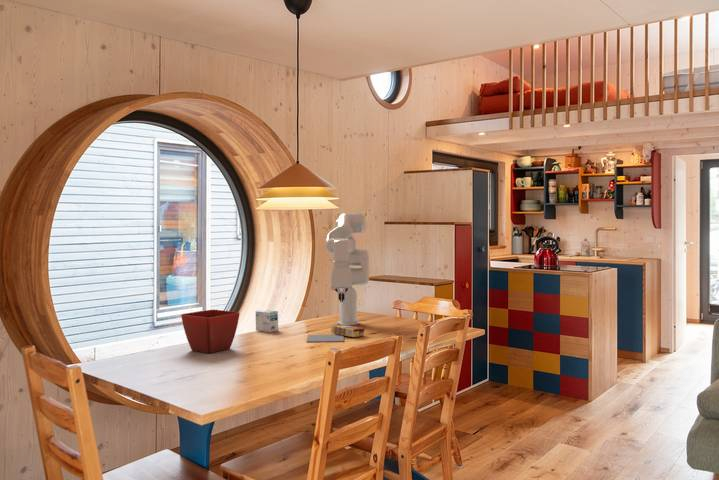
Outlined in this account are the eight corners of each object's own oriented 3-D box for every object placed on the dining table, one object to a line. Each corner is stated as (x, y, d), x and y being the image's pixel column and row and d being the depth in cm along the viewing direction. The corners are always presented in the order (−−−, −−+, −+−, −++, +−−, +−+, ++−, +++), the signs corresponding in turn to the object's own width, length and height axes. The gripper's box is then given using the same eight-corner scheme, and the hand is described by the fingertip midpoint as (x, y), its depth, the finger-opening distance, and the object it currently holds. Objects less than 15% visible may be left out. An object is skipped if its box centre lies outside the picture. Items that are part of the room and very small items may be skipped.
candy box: (353, 328, 293) (330, 325, 303) (353, 337, 293) (330, 333, 303) (364, 327, 300) (342, 324, 310) (364, 335, 300) (342, 332, 310)
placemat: (308, 335, 301) (308, 334, 301) (343, 335, 302) (343, 334, 302) (306, 342, 285) (306, 341, 285) (343, 341, 286) (343, 340, 286)
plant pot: (213, 343, 284) (212, 308, 283) (241, 348, 273) (240, 312, 272) (180, 351, 268) (180, 314, 268) (208, 356, 257) (208, 318, 257)
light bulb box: (278, 330, 316) (278, 310, 316) (270, 332, 310) (270, 312, 310) (263, 328, 322) (263, 309, 321) (255, 330, 316) (254, 310, 316)
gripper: (355, 263, 296) (356, 299, 297) (326, 264, 296) (326, 300, 297) (356, 265, 289) (356, 302, 290) (325, 265, 288) (326, 302, 289)
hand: (341, 301), depth 293 cm, fingers closed
